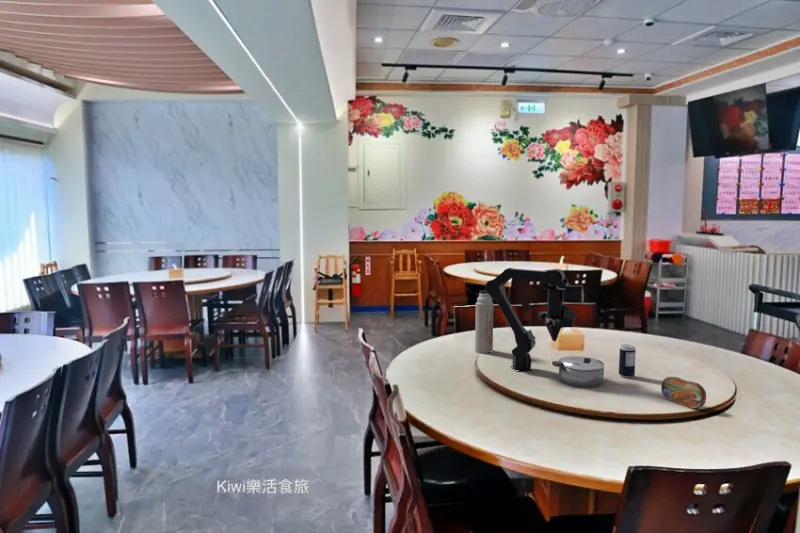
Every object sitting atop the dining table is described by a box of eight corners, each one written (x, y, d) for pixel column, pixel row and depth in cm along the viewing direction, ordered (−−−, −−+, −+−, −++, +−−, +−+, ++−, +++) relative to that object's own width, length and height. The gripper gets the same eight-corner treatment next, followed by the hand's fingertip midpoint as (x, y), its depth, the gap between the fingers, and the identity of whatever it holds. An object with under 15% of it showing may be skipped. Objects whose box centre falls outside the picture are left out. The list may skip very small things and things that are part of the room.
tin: (660, 397, 185) (661, 373, 184) (666, 396, 186) (667, 372, 186) (700, 412, 172) (702, 386, 171) (707, 411, 173) (708, 385, 172)
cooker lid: (564, 372, 193) (564, 366, 193) (544, 360, 208) (544, 354, 208) (613, 369, 196) (613, 363, 196) (589, 358, 212) (589, 352, 212)
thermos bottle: (496, 352, 246) (497, 291, 243) (481, 354, 242) (482, 292, 239) (485, 348, 253) (486, 288, 250) (471, 350, 249) (472, 290, 246)
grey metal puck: (571, 389, 194) (572, 372, 193) (550, 376, 210) (551, 360, 209) (612, 386, 197) (612, 370, 196) (588, 373, 213) (589, 358, 212)
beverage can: (634, 375, 211) (636, 345, 209) (634, 379, 205) (635, 348, 204) (619, 373, 213) (620, 343, 212) (618, 377, 208) (619, 346, 207)
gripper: (587, 304, 203) (585, 345, 204) (562, 297, 221) (561, 334, 222) (559, 305, 201) (558, 347, 202) (537, 298, 219) (536, 336, 220)
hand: (554, 341), depth 212 cm, fingers closed
